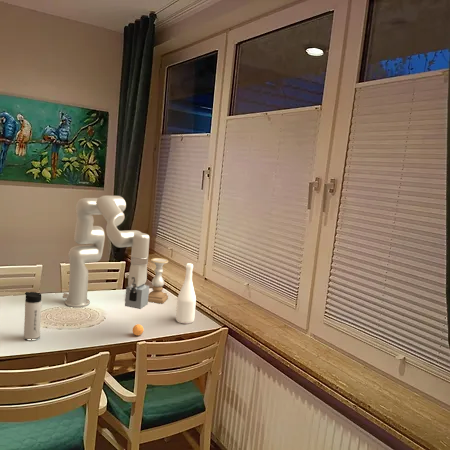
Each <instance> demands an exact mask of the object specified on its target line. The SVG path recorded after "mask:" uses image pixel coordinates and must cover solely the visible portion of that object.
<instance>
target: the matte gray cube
mask: <svg viewBox="0 0 450 450" xmlns="http://www.w3.org/2000/svg"><path fill="white" fill-rule="evenodd" d="M133 285H134V284H133ZM135 286H136V285H135ZM133 288H134V289H135V287H133ZM136 293H137V296H136V301H130V300H129V294H130V292H129V287H128V286H126V287H125V299H124V300H125V301H124V307H127V308H132V309H137V310H142V309H143V308H145V307H146V306H148V305H149V302H148V296H149V293H150V285H147V284H145V285H141V286H139V287H137V290H136Z"/></svg>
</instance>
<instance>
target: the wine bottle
mask: <svg viewBox="0 0 450 450" xmlns="http://www.w3.org/2000/svg"><path fill="white" fill-rule="evenodd" d="M193 269H194V264H193V263H191V262H190V263H189V262H188V263H186V264H185V278H184V281H183V283H182V286H181V288H180V291H179V293H178V295H177V301H176V310H175V311H176V312H175V321H176V322H177V323H180V324H187V325H189V324H192V323H193V322H194V321H195V316H196V302H197V297H196V292H195V288H194V283H193Z"/></svg>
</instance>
